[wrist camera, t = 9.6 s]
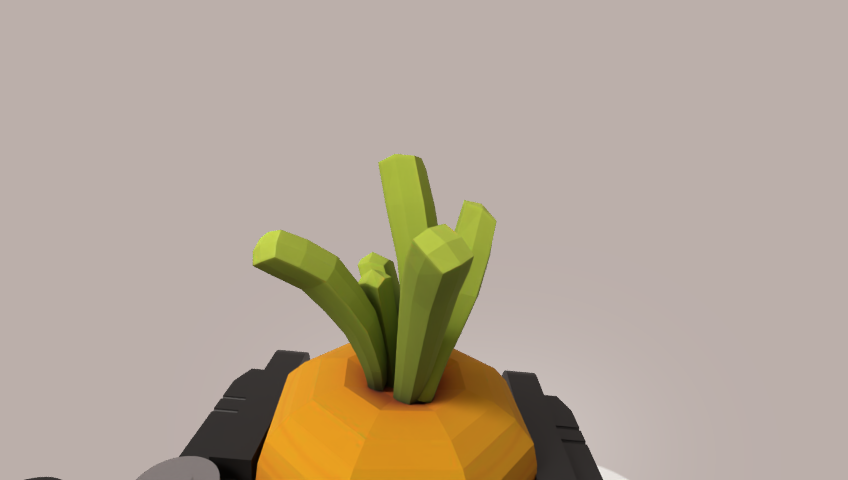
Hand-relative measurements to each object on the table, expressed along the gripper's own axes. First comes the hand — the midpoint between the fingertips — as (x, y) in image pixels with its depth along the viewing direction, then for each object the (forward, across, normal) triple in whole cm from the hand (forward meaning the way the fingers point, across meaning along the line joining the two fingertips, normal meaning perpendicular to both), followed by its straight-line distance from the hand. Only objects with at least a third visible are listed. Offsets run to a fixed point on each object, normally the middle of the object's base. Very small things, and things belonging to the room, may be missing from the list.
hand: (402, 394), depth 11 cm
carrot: (-3, 0, +9) cm, 10 cm away
